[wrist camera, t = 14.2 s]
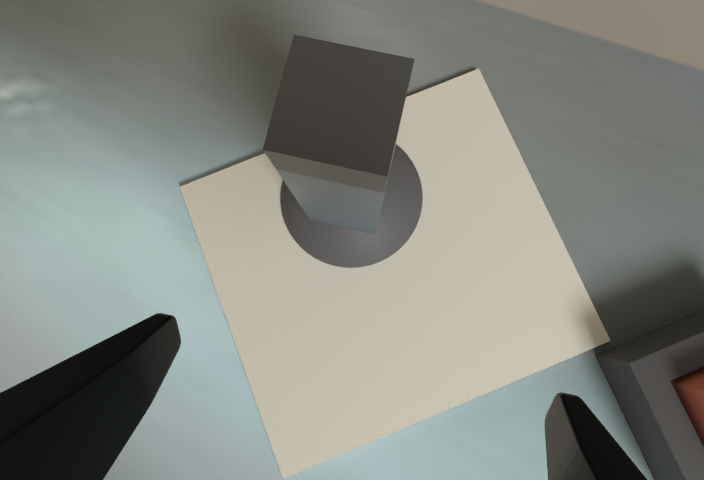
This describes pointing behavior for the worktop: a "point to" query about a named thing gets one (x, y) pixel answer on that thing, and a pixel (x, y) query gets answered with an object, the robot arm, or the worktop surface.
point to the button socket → (660, 395)
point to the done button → (692, 398)
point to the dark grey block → (338, 129)
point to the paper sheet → (393, 283)
